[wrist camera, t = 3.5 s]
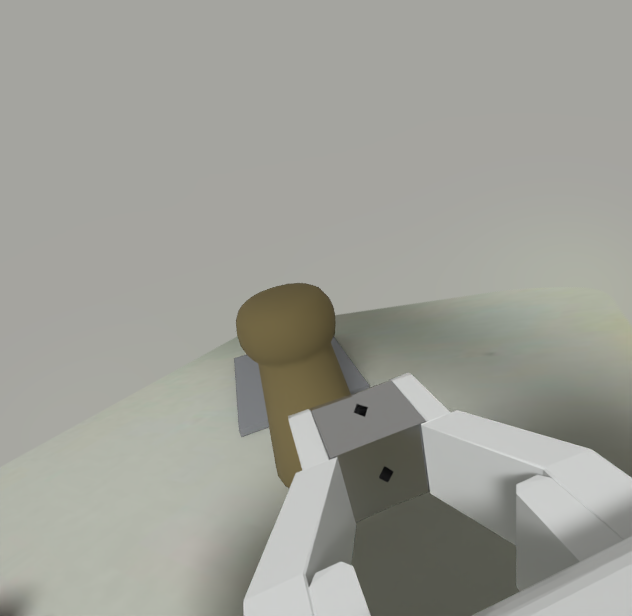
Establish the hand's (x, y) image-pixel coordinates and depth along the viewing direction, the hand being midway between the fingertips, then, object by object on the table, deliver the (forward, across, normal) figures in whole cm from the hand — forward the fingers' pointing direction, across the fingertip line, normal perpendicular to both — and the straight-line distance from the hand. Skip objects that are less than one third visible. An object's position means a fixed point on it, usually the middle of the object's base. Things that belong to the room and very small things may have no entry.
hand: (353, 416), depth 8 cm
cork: (+10, 0, +11) cm, 15 cm away
